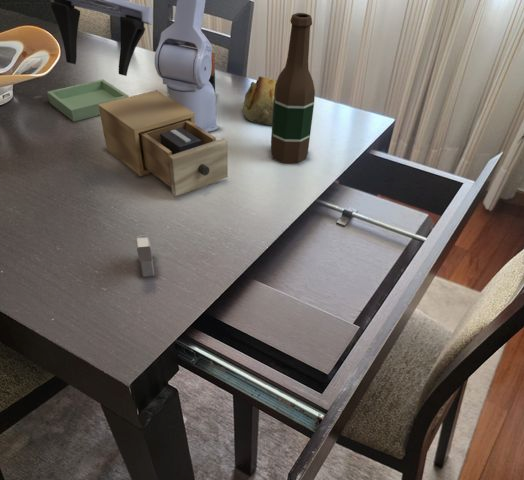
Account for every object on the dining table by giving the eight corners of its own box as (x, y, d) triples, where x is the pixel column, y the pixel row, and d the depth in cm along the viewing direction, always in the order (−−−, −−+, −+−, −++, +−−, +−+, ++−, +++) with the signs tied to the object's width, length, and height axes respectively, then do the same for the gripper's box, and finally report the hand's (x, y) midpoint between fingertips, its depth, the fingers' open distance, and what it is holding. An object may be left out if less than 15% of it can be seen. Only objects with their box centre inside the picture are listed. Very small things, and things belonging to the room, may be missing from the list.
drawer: (231, 179, 89) (232, 143, 84) (179, 199, 83) (176, 161, 78) (191, 152, 95) (189, 116, 90) (140, 169, 90) (135, 132, 84)
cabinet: (196, 157, 95) (194, 112, 89) (140, 176, 90) (133, 129, 83) (161, 133, 101) (156, 89, 95) (106, 149, 96) (97, 104, 89)
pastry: (230, 109, 111) (230, 70, 105) (276, 100, 116) (279, 63, 110) (262, 134, 104) (264, 94, 98) (310, 124, 108) (314, 85, 102)
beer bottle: (312, 150, 100) (330, 12, 82) (301, 168, 95) (318, 25, 77) (276, 143, 101) (286, 5, 83) (264, 159, 96) (272, 17, 78)
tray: (105, 90, 115) (103, 79, 113) (130, 107, 109) (128, 95, 107) (49, 103, 109) (46, 91, 107) (73, 121, 103) (71, 110, 101)
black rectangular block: (163, 163, 89) (159, 131, 85) (183, 156, 91) (181, 125, 87) (181, 177, 86) (179, 145, 82) (202, 169, 88) (200, 138, 84)
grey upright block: (140, 259, 73) (133, 213, 67) (152, 258, 74) (145, 212, 68) (144, 290, 69) (135, 243, 63) (156, 289, 69) (149, 242, 63)
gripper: (36, -65, 63) (36, 54, 69) (148, -37, 64) (139, 78, 70) (57, -49, 69) (55, 60, 75) (159, -24, 70) (149, 81, 76)
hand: (96, 69), depth 73 cm, fingers open, 7 cm apart
